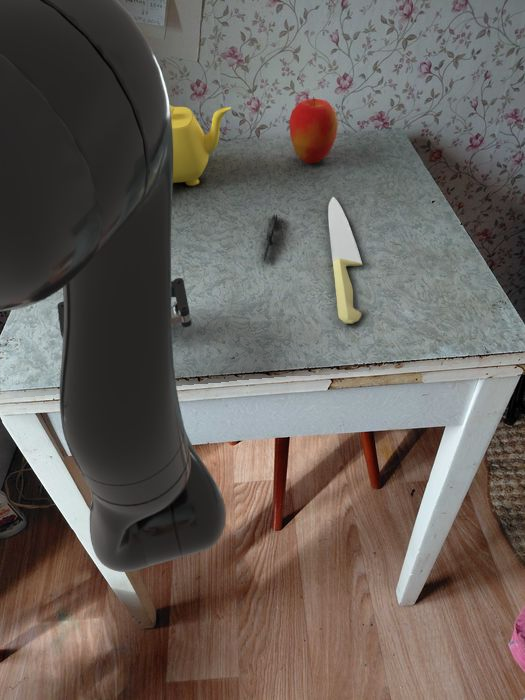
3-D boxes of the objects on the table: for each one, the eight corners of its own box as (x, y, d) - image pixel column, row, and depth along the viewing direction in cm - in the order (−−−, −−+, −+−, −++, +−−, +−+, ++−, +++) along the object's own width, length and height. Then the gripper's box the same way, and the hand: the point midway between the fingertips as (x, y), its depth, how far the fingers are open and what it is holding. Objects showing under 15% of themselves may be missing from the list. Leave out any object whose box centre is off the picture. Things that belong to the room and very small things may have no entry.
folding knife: (266, 267, 81) (266, 257, 79) (259, 267, 81) (259, 256, 79) (278, 220, 89) (277, 210, 88) (271, 220, 90) (271, 209, 88)
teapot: (135, 161, 106) (120, 95, 97) (234, 154, 107) (229, 88, 98) (128, 196, 97) (111, 127, 88) (237, 189, 97) (231, 119, 88)
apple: (327, 174, 100) (331, 109, 91) (282, 167, 102) (282, 103, 94) (340, 152, 106) (345, 89, 97) (297, 146, 108) (298, 84, 99)
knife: (351, 195, 93) (325, 192, 93) (374, 322, 70) (340, 318, 70) (349, 202, 94) (323, 199, 94) (371, 329, 71) (337, 325, 71)
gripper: (199, 327, 52) (172, 237, 63) (50, 360, 50) (49, 261, 60) (208, 377, 57) (182, 286, 68) (74, 409, 55) (69, 310, 66)
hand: (119, 274), depth 64 cm, fingers open, 8 cm apart
